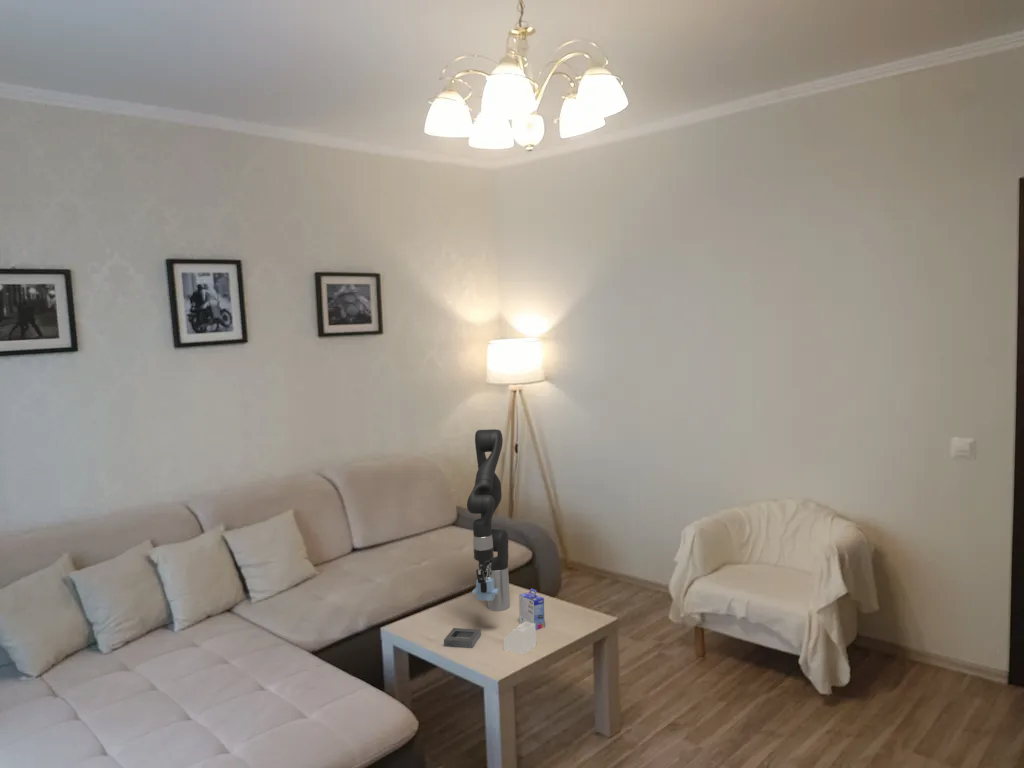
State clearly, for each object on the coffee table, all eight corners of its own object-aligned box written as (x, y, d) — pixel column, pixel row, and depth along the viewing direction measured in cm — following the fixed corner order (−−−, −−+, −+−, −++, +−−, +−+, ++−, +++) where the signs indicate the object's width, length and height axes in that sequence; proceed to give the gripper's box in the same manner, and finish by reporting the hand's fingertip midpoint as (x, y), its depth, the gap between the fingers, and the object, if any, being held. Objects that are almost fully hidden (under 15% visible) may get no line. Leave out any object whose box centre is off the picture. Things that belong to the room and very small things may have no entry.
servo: (475, 595, 277) (474, 575, 276) (499, 597, 274) (498, 576, 274) (472, 599, 273) (471, 578, 272) (496, 600, 271) (495, 579, 270)
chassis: (453, 634, 274) (453, 627, 274) (481, 635, 271) (480, 629, 271) (444, 646, 263) (443, 639, 263) (472, 648, 261) (472, 641, 261)
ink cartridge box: (545, 628, 276) (544, 591, 275) (534, 632, 272) (533, 595, 272) (530, 621, 284) (528, 585, 283) (519, 624, 280) (517, 588, 279)
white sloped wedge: (545, 639, 266) (544, 617, 265) (523, 655, 253) (522, 631, 253) (526, 635, 271) (525, 613, 270) (504, 650, 258) (503, 627, 258)
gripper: (479, 540, 280) (481, 583, 281) (468, 551, 266) (470, 596, 267) (497, 541, 278) (499, 584, 279) (487, 552, 264) (489, 597, 266)
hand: (485, 589), depth 273 cm, fingers closed on servo, 4 cm apart
